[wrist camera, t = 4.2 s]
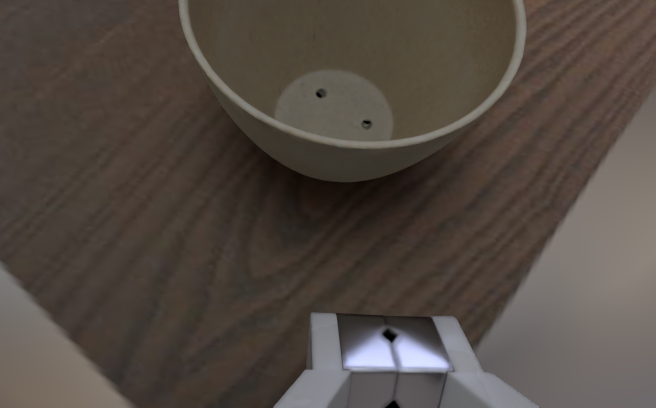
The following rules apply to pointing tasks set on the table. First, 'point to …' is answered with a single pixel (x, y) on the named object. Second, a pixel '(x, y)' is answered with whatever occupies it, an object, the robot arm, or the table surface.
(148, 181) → the table surface
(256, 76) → the flower pot
